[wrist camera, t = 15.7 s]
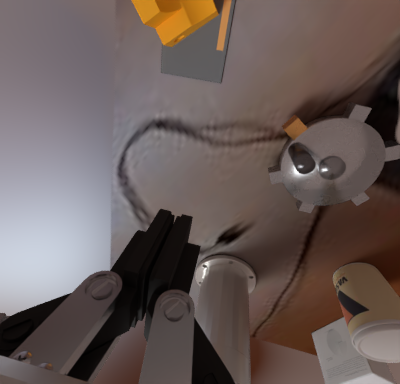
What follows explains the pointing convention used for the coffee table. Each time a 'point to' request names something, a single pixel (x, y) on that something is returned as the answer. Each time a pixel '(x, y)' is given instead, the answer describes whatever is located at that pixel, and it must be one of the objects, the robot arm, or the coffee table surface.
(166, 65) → the mat
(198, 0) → the pipe clamp
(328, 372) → the skincare box
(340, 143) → the sprocket
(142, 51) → the coffee table surface
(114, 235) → the coffee table surface
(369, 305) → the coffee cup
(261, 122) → the coffee table surface
